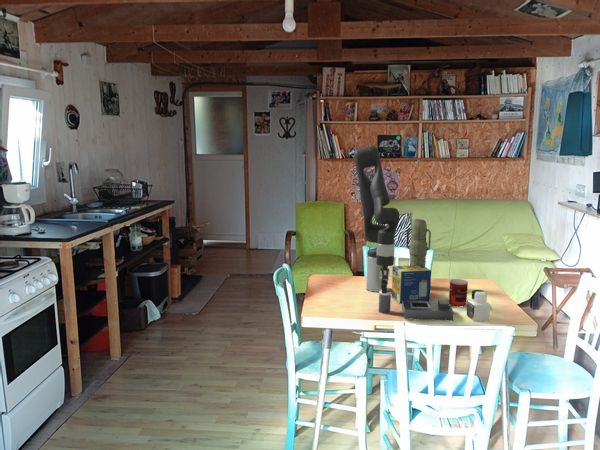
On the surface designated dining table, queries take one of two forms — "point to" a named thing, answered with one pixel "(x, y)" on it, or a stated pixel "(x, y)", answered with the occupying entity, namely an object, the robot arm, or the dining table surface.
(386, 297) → the grey rounded cylinder
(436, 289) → the dining table surface
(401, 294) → the protein box
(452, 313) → the grey panel
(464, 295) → the canned food
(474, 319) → the medicine bottle
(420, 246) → the thermos
